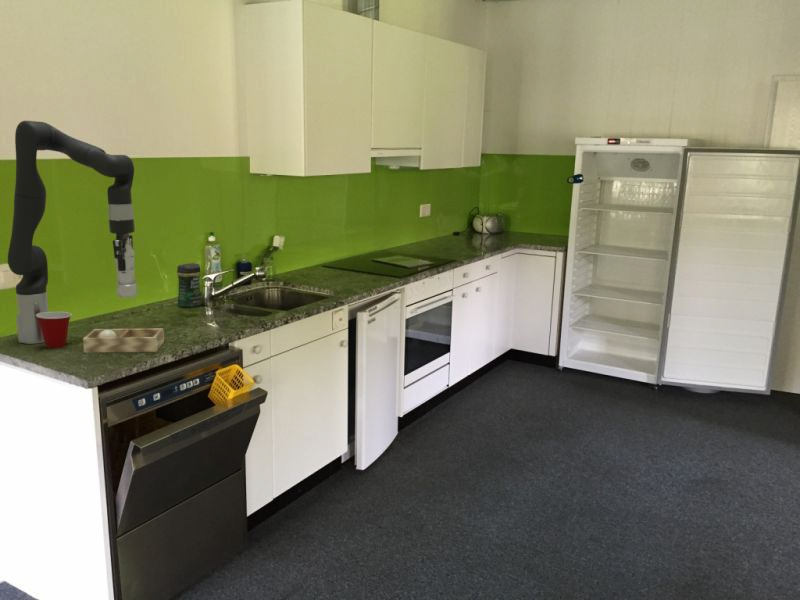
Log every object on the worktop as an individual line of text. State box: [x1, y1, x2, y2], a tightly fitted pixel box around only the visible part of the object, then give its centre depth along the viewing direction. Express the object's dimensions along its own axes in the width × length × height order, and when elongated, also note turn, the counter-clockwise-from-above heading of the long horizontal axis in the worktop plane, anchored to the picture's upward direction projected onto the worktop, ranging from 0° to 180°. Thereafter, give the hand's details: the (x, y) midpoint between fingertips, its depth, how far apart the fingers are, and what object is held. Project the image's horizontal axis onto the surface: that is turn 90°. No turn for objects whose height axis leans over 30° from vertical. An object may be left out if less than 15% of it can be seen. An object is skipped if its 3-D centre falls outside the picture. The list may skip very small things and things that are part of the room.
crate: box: [82, 327, 165, 354], centre depth 228 cm, size 23×12×6 cm, turn 98°
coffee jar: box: [176, 262, 203, 309], centre depth 290 cm, size 10×8×19 cm
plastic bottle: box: [114, 237, 138, 299], centre depth 221 cm, size 6×7×20 cm
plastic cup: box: [36, 311, 73, 349], centre depth 228 cm, size 11×11×12 cm
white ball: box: [98, 330, 117, 338], centre depth 227 cm, size 6×6×6 cm
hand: (125, 268), depth 221 cm, fingers closed on plastic bottle, 6 cm apart
